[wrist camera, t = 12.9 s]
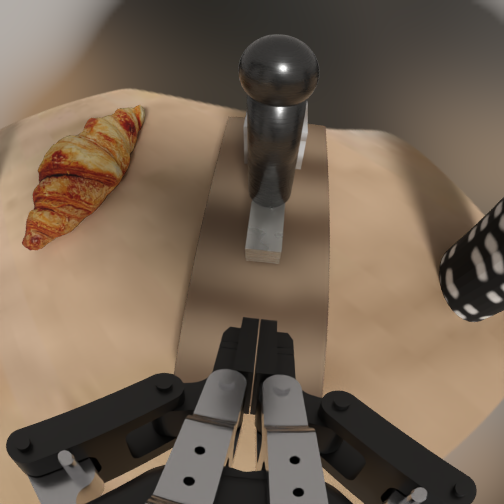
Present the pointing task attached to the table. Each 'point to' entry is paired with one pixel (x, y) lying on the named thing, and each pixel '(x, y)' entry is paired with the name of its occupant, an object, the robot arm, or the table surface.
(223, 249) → the door board
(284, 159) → the bolt
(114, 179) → the croissant
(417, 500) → the robot arm
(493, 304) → the spotted tube
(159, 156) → the table surface
